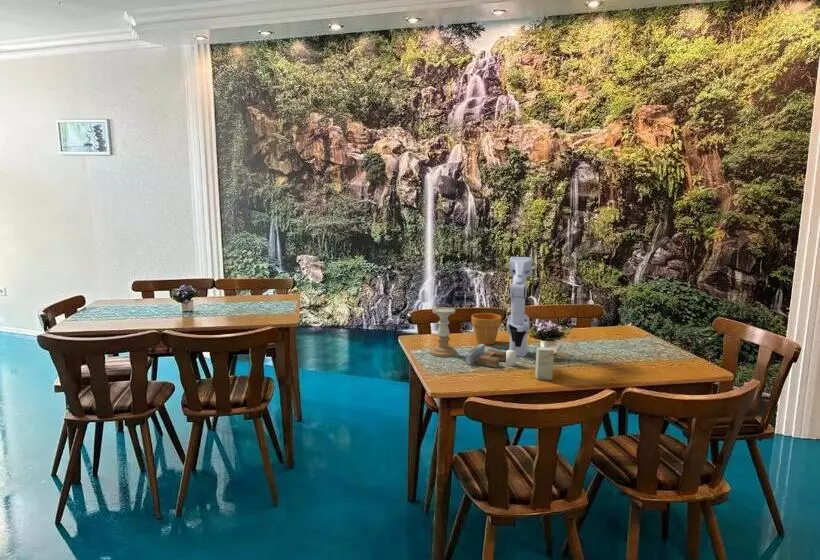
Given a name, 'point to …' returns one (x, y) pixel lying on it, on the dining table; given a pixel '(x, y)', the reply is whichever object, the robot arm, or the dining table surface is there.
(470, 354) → the wall
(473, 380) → the dining table surface
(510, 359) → the dowel
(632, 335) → the dining table surface
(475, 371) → the dining table surface
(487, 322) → the flower pot
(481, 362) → the block
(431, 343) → the dining table surface
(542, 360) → the skincare box
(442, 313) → the candle holder
